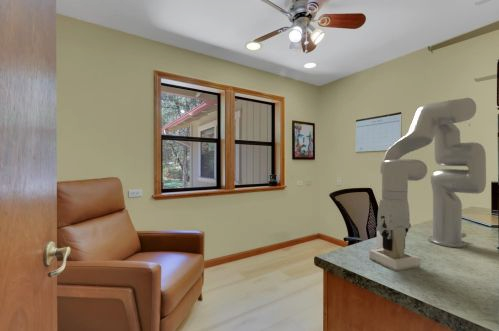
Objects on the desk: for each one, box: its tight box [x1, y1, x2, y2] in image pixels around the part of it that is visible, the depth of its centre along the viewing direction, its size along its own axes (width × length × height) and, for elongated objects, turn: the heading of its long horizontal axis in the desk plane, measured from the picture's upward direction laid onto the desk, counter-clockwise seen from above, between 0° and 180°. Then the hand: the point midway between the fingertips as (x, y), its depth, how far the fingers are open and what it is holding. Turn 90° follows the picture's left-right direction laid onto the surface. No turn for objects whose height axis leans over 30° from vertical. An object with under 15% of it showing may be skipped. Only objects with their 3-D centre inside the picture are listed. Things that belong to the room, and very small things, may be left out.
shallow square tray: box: [368, 248, 421, 272], centre depth 82 cm, size 10×10×3 cm
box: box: [383, 226, 406, 259], centre depth 82 cm, size 5×4×11 cm
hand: (393, 248), depth 82 cm, fingers closed on box, 5 cm apart
